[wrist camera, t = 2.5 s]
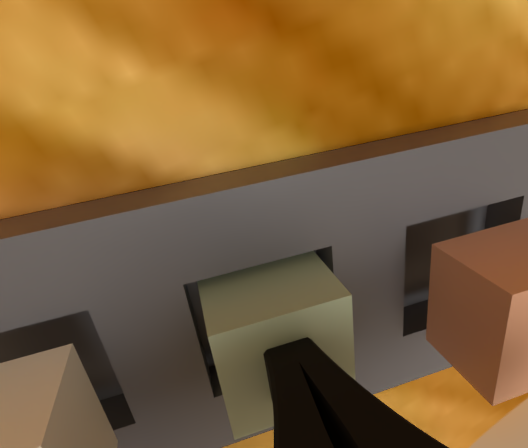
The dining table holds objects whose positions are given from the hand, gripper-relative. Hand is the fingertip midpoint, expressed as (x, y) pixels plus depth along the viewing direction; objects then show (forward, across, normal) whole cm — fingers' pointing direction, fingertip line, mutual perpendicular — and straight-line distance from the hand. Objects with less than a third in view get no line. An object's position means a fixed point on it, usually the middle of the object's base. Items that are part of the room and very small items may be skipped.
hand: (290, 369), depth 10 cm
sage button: (+3, 0, 0) cm, 3 cm away
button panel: (+4, 0, 0) cm, 4 cm away
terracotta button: (+1, -8, 0) cm, 8 cm away
